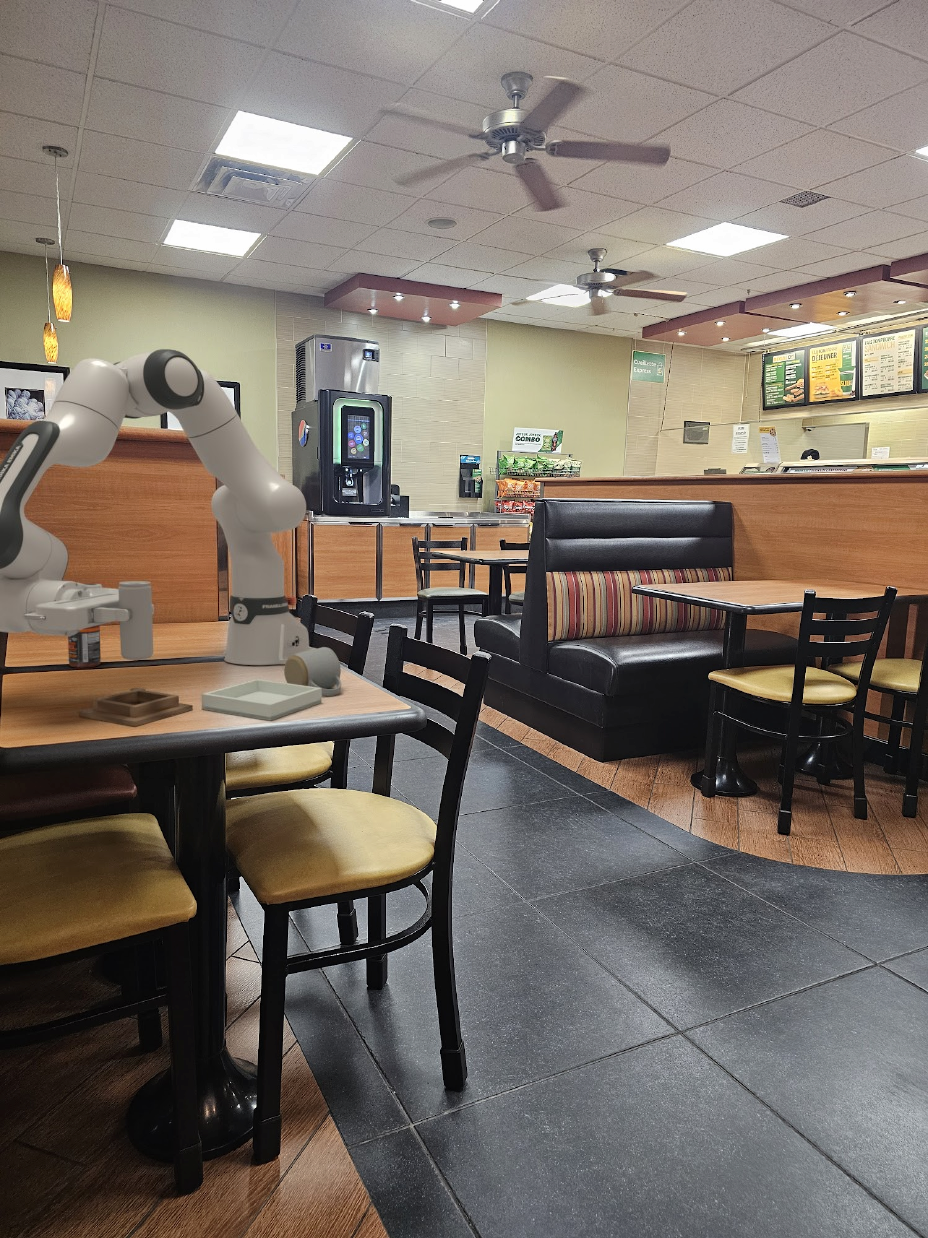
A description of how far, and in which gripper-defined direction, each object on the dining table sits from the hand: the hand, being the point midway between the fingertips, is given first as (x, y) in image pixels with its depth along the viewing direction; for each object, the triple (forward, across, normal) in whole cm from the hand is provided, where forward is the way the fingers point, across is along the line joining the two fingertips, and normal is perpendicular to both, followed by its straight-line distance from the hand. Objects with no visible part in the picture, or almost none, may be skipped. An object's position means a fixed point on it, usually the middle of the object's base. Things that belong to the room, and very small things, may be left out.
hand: (141, 612), depth 124 cm
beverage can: (-1, 0, +8) cm, 8 cm away
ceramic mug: (+21, +23, +17) cm, 35 cm away
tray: (+16, +9, +16) cm, 25 cm away
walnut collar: (-1, 0, +16) cm, 16 cm away
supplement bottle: (-32, +31, +17) cm, 47 cm away
